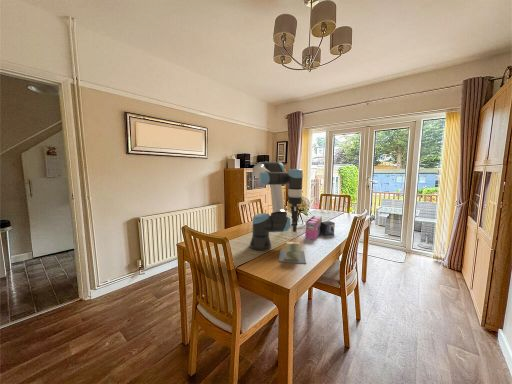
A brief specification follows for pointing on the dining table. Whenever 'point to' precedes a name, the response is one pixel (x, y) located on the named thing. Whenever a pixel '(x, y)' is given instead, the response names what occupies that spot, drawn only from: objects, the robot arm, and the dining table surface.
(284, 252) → the mat
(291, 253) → the wooden block
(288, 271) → the dining table surface
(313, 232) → the gum box
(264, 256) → the dining table surface
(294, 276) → the dining table surface
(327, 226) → the small box
